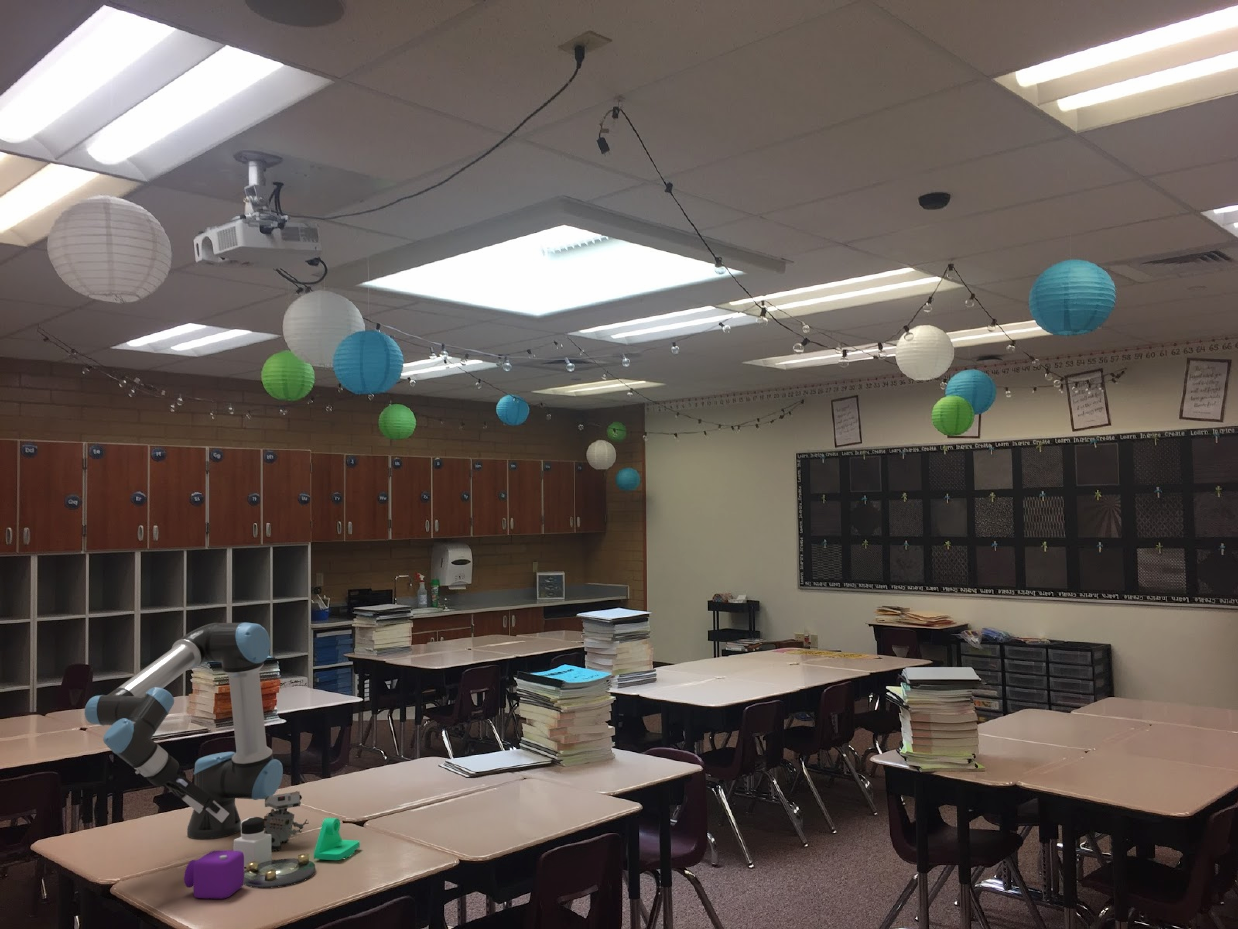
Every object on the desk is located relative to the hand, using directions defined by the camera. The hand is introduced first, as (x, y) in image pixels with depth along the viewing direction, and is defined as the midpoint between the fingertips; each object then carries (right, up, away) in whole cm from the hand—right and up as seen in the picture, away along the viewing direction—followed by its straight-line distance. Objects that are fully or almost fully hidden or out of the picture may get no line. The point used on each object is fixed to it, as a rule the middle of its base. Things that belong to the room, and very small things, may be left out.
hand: (213, 813), depth 255 cm
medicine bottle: (+8, -17, +7) cm, 19 cm away
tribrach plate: (+19, -15, -3) cm, 24 cm away
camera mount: (+30, -17, +12) cm, 36 cm away
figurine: (+11, -18, +21) cm, 30 cm away
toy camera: (+6, -15, -15) cm, 22 cm away
